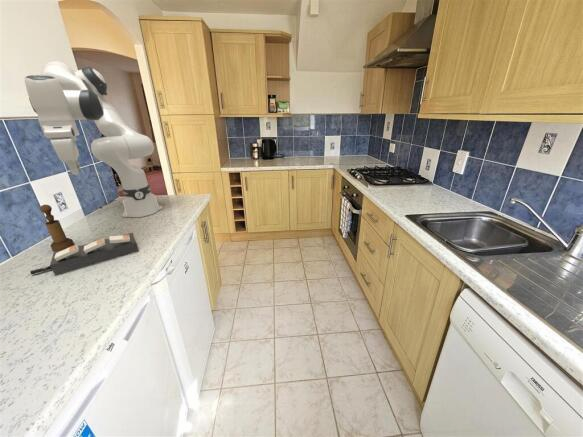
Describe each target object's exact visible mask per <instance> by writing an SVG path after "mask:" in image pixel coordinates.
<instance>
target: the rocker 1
mask: <svg viewBox="0 0 583 437" xmlns="http://www.w3.org/2000/svg"><path fill="white" fill-rule="evenodd" d="M78 246H79V245H78V244H74V246H71V247H69V248H67V249H65V250H62V251H60V252H58V253H56V254H55V258H54V259H55V260H56V261H58V260H60V259H63V258H65V257H67V256H69V255H72V254H74V253H76V252H78V249H79V247H78Z"/></svg>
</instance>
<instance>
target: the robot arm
mask: <svg viewBox="0 0 583 437" xmlns="http://www.w3.org/2000/svg"><path fill="white" fill-rule="evenodd" d="M24 84H25V87H26V88H25V89H26V92H27V96H28V101H29V103H30V106H31V107H32V109H33V112H34V113H36V114H37V118H38V119H37V120H38V123H39V126H40V128H41V131H42V132H43V135H44V137H45V139H49V141H50V143H51V146H52V147H53V149H54V151H55V153H56V155H57V157H58V159H59V160H60V162H61V163H63V164H66V165H67V167H68V169H69V171H70V173H71V175H72V176H76V175H79V173H80V172H79V171H81V166H80V163H79V159H78V158H79V156H80V152H79V150H78V146H77V144H76V141H78V140H77V136H80V131H79V129H78V127H77V123H76V121H77V120H79V121H81V120H82V121H83V120H88V121H93V122H94V124H95V125H96V126H97V127H96V128H98V130H99V132H100V133H101V134H102V135H103V137H100V138H95V139H93V141H92V142H91V145H90V150H91V153H92V154H93V156H94V157H95V158H96V159H97V161H101V162H102V163H104V164H106V165H109V166H110V167H111V168H112V169H113V170H114V171H115V172H116V174H117V176H118V177H119V180H120V182H121V186H122V193H123V196H124V198H123V200H122V201H121V202H122V206H123V207H124V208H123V212H122V216H121V217H123V218H142V217H143V218H144V217H147V216H150V215H153V214H155V213H157V212H159V211H161V210H162V209H163V206H162V205H160V204H158V200H157V197H156V194H154V193H152V190H151V187H150V185H149V182H148V180H147V176H146V173H145V171H144V170H143V169H142V168H141V167H138V166H136V165H131V164H130V163H129V160H135V159H141V158H142V159H143V158H145V157H148V156H149V157H150V156H151V155H152V154H153V153H154V150H155V146H154V142H153V140H152V139H151V138H150V137H149V136H147V135H145V134H142V133H139V132H137V131H135V130H134V129H132V128H130V127H129V126H128V125H127V124H126V123H125V122H124V121H123V119H122V118H121V116H120V115H119V113H118V112H117V110H116V108H115V107H114V106H113V105H112V104H111V103H110V101H108V100H107V99H106V97H105V96H107V95H108V92H107V91H108V85H107V82H106V80H105V78H104V76H103V75H102V74H101V73H100V72H99V71H97V69H95V68H94V67H91V66H84V67H81V68H80V69H79V70H76V71H74V70H73V69H72V67H71V66H69V65H68V64H67V63H65V62H63V61H59V60H52V61H48V62H46V63H45V65H43V66H42V68H41V72H40V75H39V74H35V75H33V74H31V75H26V76H25V77H24Z"/></svg>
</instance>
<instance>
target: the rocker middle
mask: <svg viewBox="0 0 583 437" xmlns="http://www.w3.org/2000/svg"><path fill="white" fill-rule="evenodd" d="M105 240H106V239H105V238H104V237H102V238H99V239H97V240H95V241H92V242H90V243H87V244H88V245H86V244H84V245H85V246H84V252H85V253H88V252H90V251H92V250H94V249H97V248H99V247H101V246H103V245H105Z"/></svg>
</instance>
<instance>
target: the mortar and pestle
mask: <svg viewBox="0 0 583 437" xmlns="http://www.w3.org/2000/svg"><path fill="white" fill-rule="evenodd" d="M39 210H40V212H42V213H43V214H45V219H46V220H47V221H48V222H45V223H44V224H45V227H46V229H47V230H48V232H49V233H48V234H49V235H50V238H52V242H51V244H50V248H51V250H52V252H53V253H54V252H58V251H62V250H65V249H67V248H69V247H71V246H74V245H75V242H74V241H73V239H72V238H68V237H67V236H66V233H65V230H64V228H63V227H62V225H61V223H60V220H59V219H55V216H54V215H53V214H52V206H51V205H49V204H42V205H41V206H40V207H39Z"/></svg>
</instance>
